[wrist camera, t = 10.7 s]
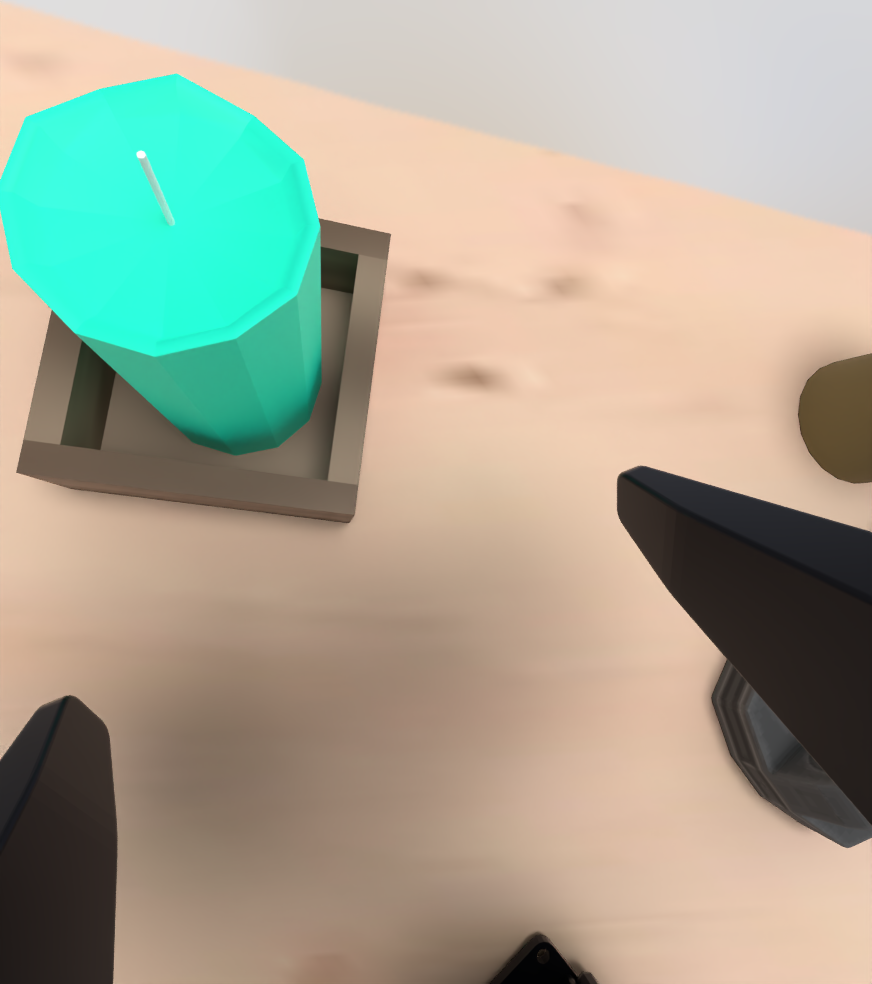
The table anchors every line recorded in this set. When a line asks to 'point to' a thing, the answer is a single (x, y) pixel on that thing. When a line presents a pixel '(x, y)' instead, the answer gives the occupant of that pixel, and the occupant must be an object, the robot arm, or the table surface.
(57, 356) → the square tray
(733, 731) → the zipper pull
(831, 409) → the cork
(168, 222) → the candle
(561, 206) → the table surface
